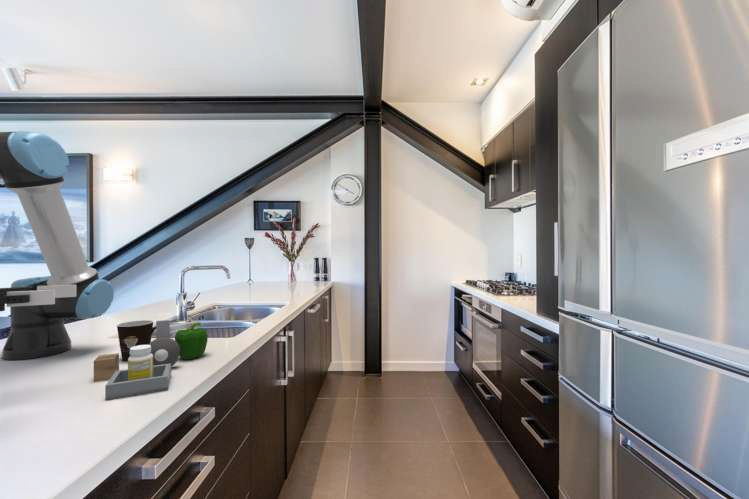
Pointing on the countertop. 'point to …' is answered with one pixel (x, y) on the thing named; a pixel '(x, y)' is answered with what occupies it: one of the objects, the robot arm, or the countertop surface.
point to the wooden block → (105, 366)
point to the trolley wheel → (164, 345)
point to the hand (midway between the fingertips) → (66, 293)
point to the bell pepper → (192, 341)
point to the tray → (138, 383)
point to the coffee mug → (134, 335)
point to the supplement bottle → (140, 362)
